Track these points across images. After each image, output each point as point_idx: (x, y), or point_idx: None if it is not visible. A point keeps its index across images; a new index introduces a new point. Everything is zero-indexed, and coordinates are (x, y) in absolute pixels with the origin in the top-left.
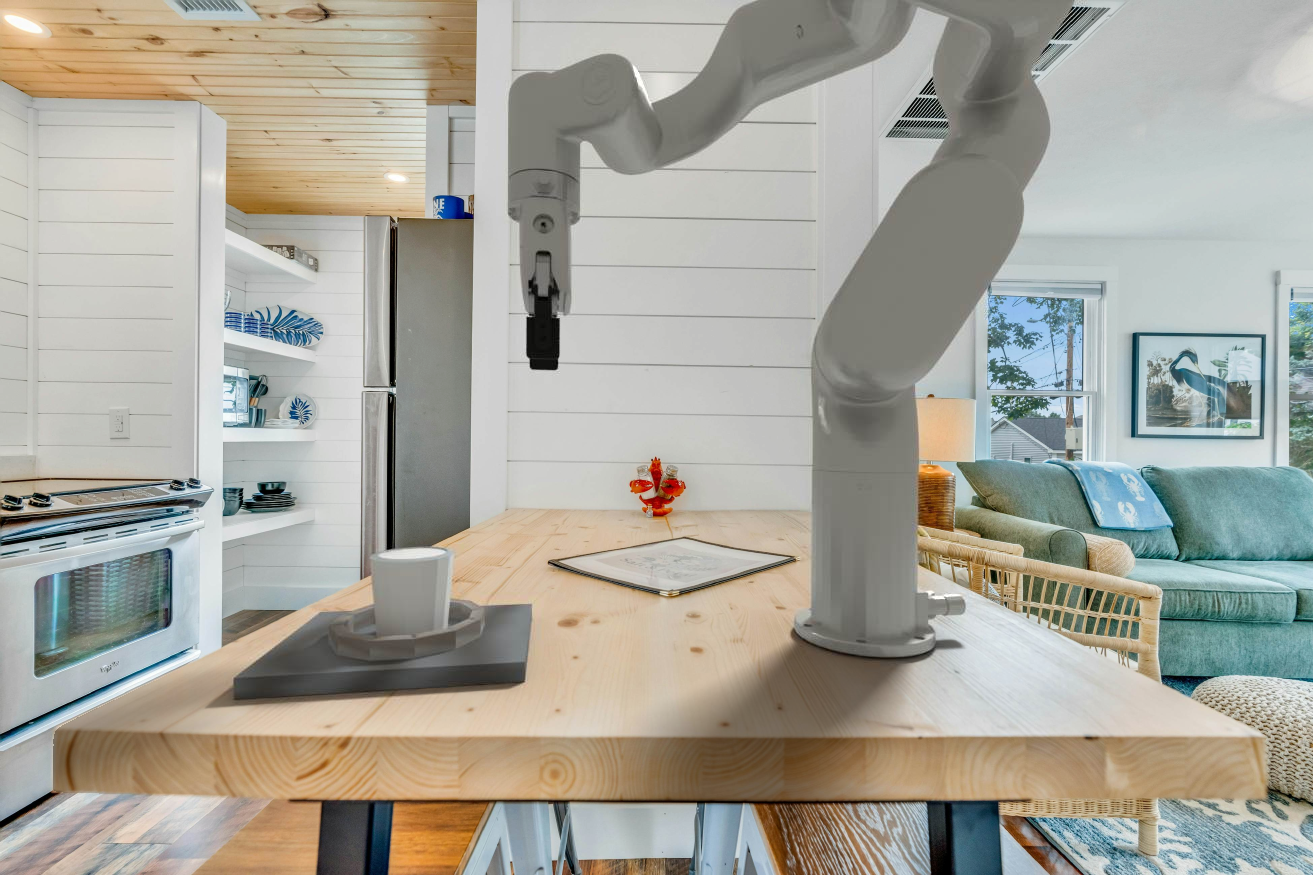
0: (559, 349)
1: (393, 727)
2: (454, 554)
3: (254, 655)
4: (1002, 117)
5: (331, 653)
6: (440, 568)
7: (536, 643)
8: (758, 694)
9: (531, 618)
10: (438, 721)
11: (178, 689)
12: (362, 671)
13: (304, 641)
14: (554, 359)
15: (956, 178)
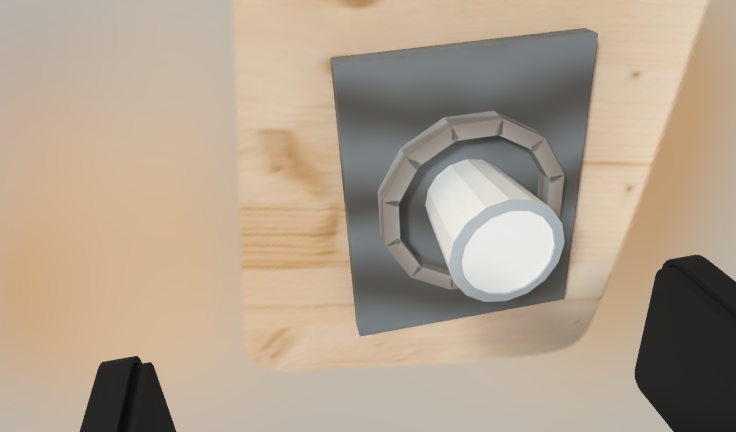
0: (725, 276)
1: (649, 134)
2: (509, 198)
3: (444, 333)
4: None
5: None
6: (537, 199)
7: (454, 32)
8: None
9: (352, 56)
10: (651, 98)
11: (520, 338)
12: (575, 202)
13: None
14: (148, 417)
15: None
